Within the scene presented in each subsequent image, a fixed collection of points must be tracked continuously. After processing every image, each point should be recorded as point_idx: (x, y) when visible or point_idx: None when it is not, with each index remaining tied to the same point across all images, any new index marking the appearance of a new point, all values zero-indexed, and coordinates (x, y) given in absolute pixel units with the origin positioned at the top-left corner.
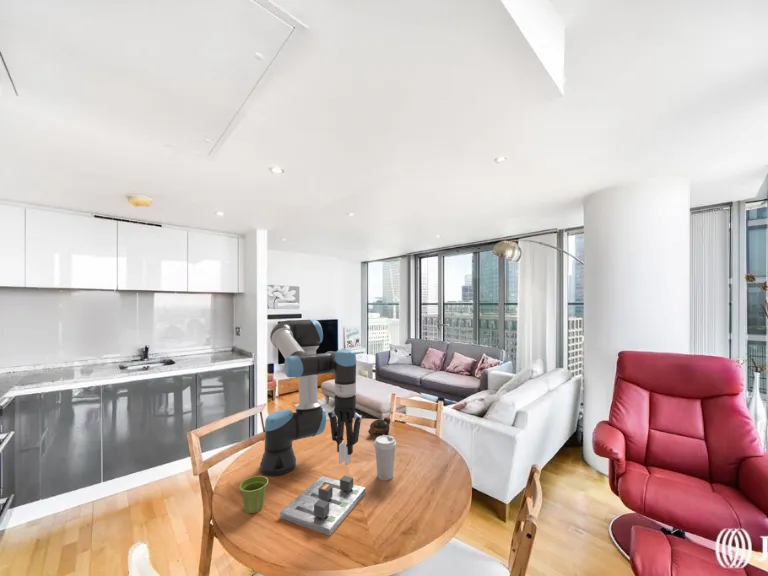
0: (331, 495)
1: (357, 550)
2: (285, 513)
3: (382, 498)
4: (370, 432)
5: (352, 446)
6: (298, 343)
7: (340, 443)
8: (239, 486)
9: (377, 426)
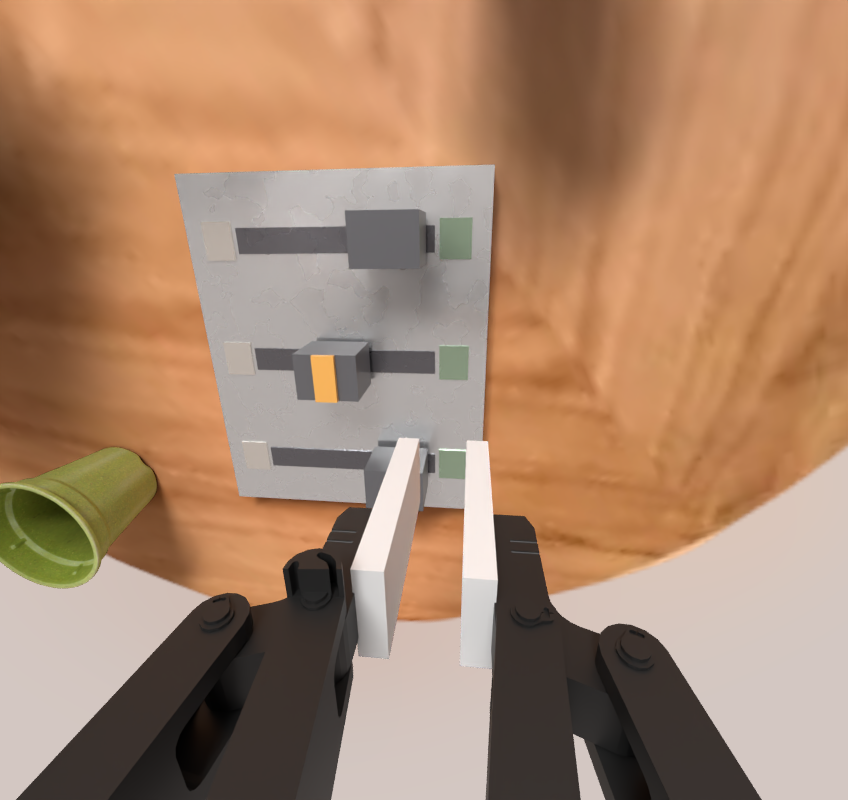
0: (366, 354)
1: (608, 516)
2: (265, 496)
3: (612, 170)
4: None
5: (544, 589)
6: None
7: (361, 632)
8: (14, 571)
9: None
